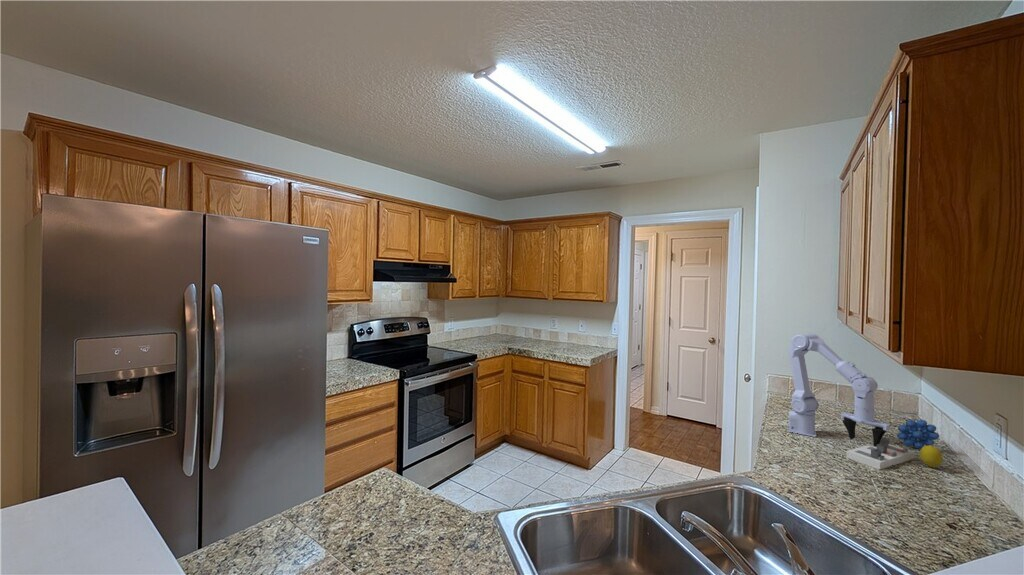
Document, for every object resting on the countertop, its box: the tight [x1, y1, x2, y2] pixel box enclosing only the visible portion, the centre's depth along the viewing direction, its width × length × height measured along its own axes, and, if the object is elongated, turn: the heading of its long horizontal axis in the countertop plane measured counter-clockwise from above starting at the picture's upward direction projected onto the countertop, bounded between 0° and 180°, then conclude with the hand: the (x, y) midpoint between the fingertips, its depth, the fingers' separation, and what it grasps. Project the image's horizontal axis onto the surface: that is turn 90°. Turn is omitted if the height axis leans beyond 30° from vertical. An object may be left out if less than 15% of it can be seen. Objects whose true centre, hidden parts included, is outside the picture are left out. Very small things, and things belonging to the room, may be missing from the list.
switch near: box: [871, 449, 881, 459], centre depth 137 cm, size 2×2×3 cm
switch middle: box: [877, 443, 887, 453], centre depth 142 cm, size 2×2×3 cm
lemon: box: [919, 445, 944, 468], centre depth 135 cm, size 6×6×8 cm
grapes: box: [896, 419, 940, 450], centre depth 151 cm, size 12×7×12 cm, turn 50°
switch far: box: [879, 436, 890, 446], centre depth 148 cm, size 2×2×3 cm
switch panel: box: [846, 443, 915, 470], centre depth 143 cm, size 23×10×4 cm, turn 112°
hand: (863, 442), depth 147 cm, fingers open, 7 cm apart
